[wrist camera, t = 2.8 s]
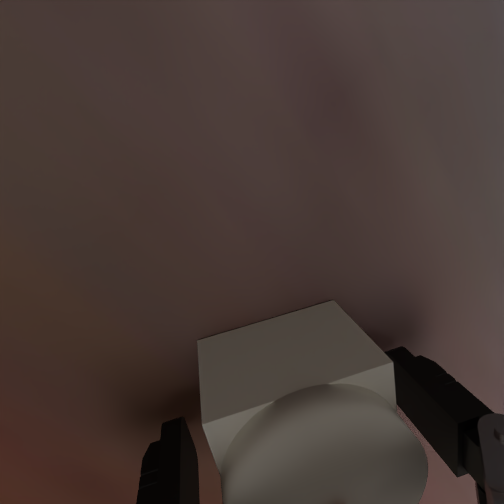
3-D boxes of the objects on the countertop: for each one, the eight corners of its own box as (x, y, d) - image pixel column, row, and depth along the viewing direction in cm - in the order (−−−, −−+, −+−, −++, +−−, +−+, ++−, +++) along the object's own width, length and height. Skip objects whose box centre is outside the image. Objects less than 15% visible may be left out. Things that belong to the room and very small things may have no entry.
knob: (193, 339, 12) (199, 490, 7) (335, 296, 13) (443, 405, 8) (229, 447, 14) (256, 630, 9) (350, 406, 15) (444, 553, 10)
